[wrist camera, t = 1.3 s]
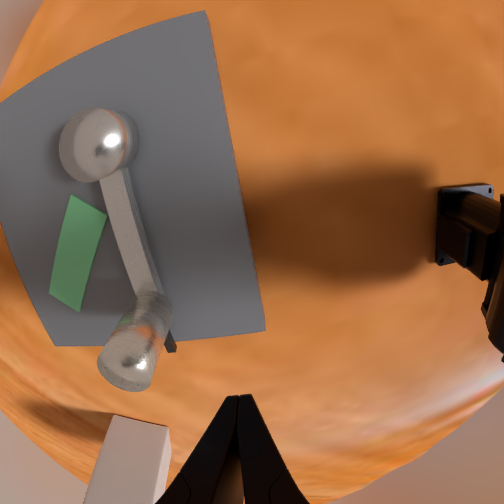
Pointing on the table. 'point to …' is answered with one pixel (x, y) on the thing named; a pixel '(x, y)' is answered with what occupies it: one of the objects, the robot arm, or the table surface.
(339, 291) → the table surface
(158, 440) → the milk carton
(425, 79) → the table surface
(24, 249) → the board
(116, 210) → the lever
